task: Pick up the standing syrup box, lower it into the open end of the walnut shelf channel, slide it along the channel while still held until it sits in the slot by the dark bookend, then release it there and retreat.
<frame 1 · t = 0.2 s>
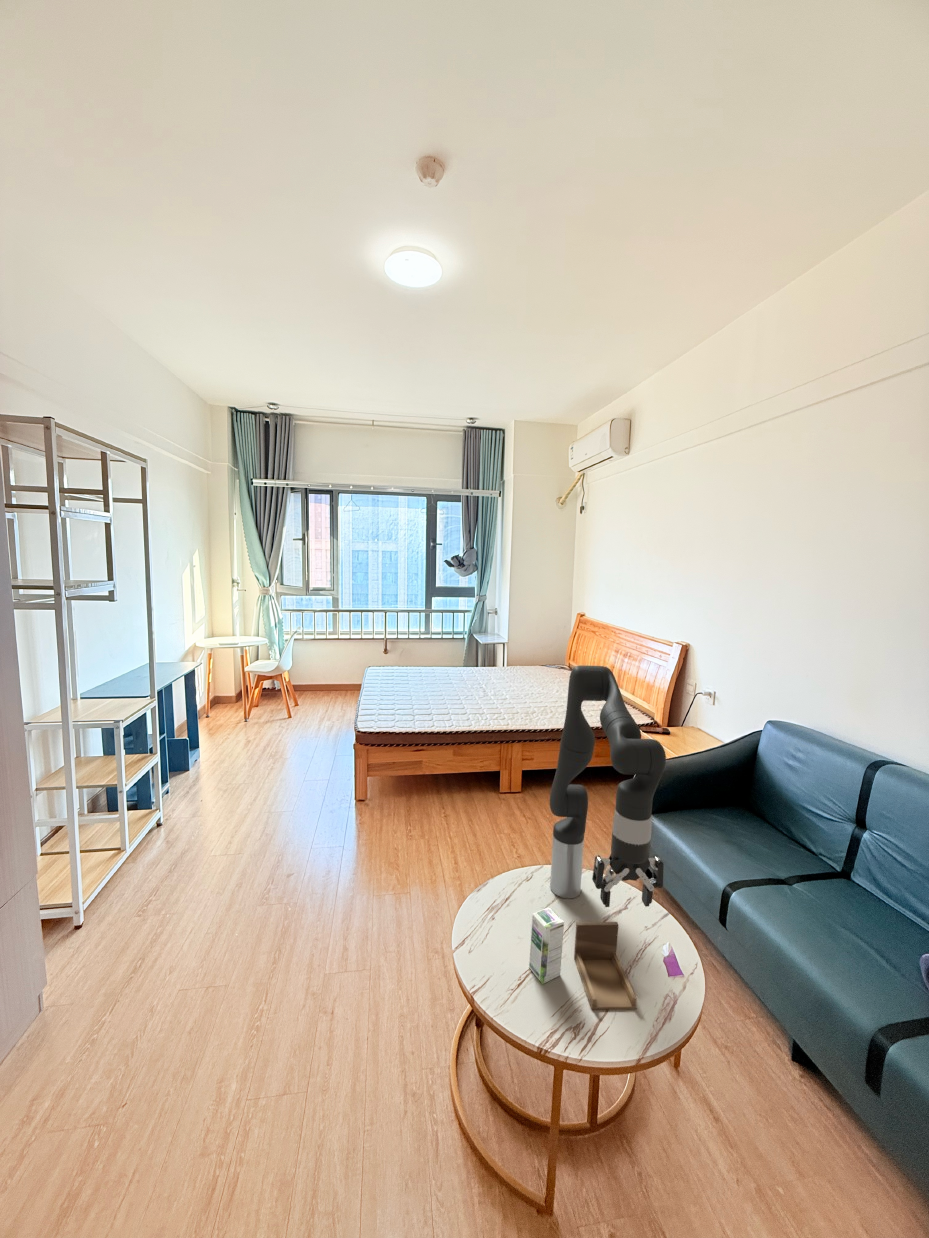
hand: (625, 904, 103), 29 cm above the table, fingers open, 8 cm apart
book rack: (603, 982, 117), on the table
syrup box: (544, 971, 119), on the table
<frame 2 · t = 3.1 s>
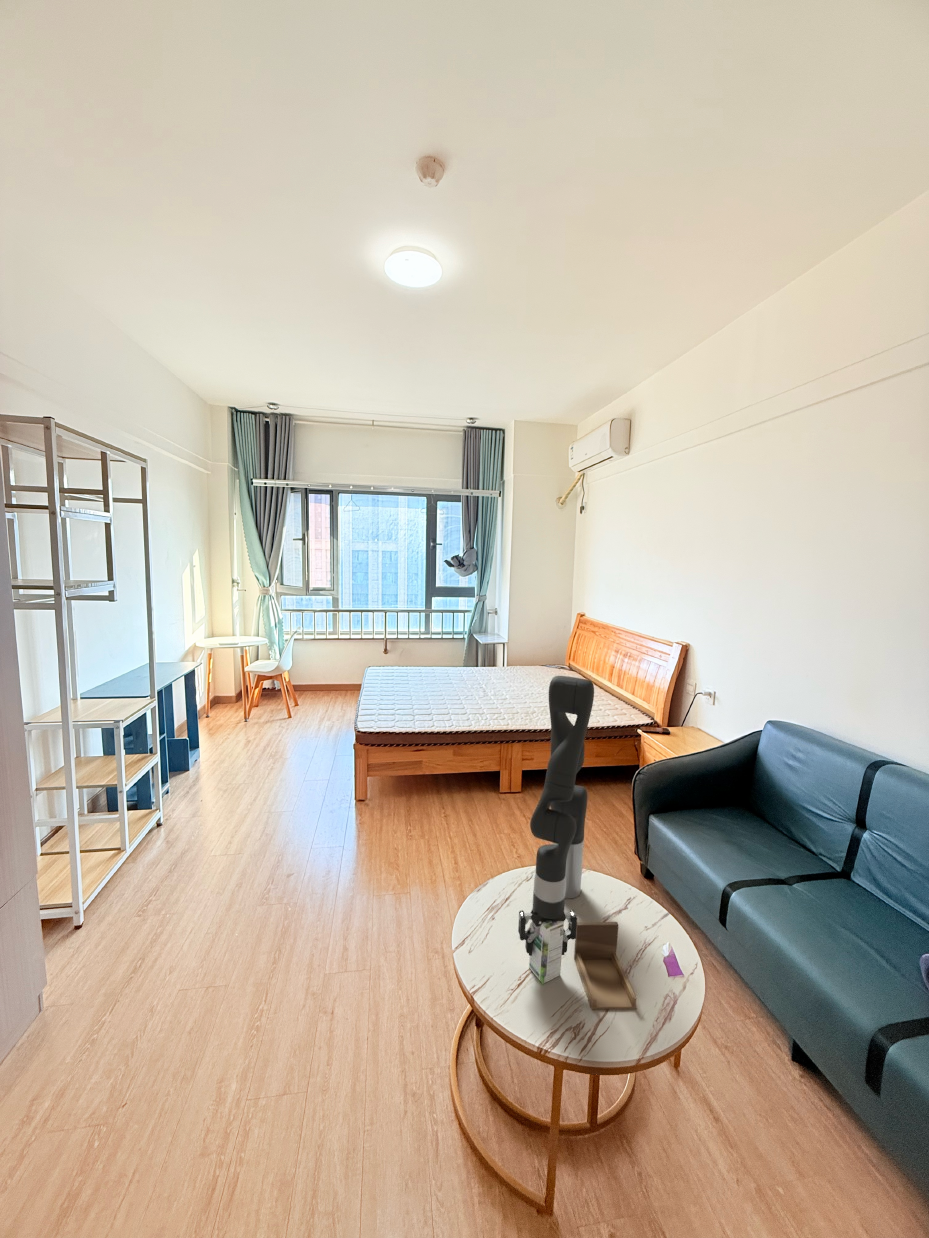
hand: (545, 952, 119), 5 cm above the table, fingers closed on syrup box, 7 cm apart
syrup box: (544, 971, 119), on the table, touching gripper
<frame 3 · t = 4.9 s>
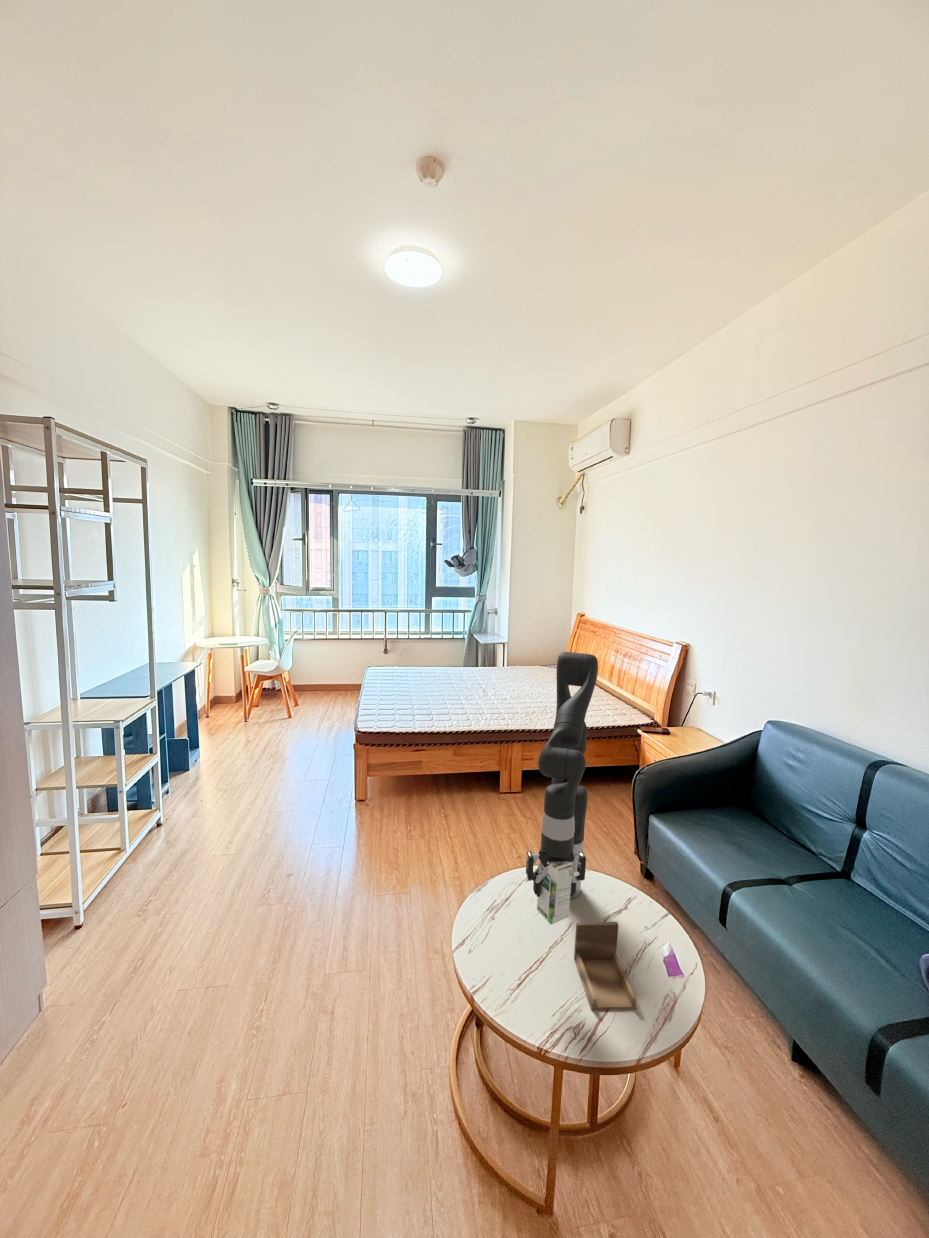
hand: (553, 894, 116), 21 cm above the table, fingers closed on syrup box, 7 cm apart
syrup box: (552, 914, 117), point 15 cm above the table, touching gripper
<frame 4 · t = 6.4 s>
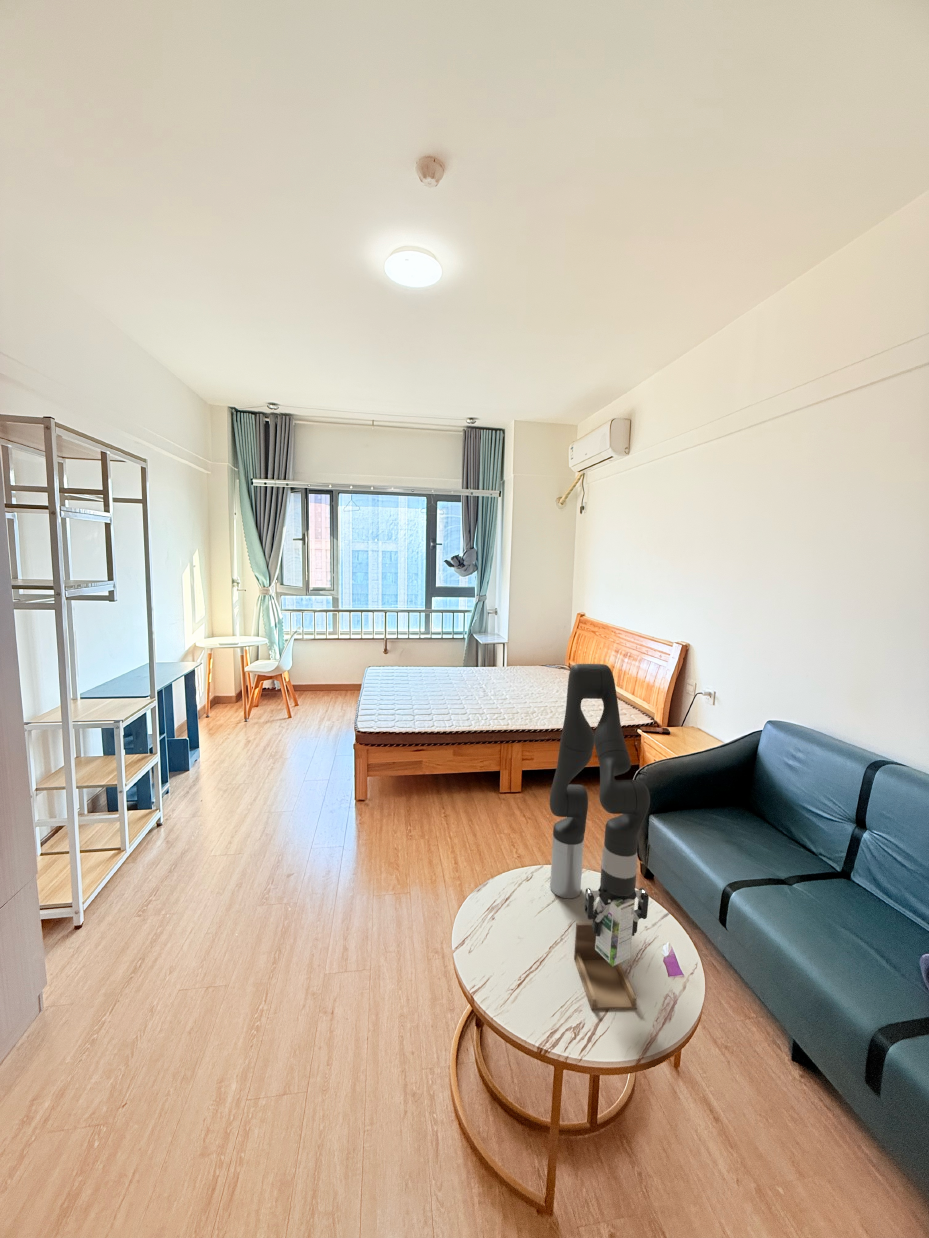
hand: (614, 933, 111), 16 cm above the table, fingers closed on syrup box, 7 cm apart
syrup box: (612, 954, 111), point 11 cm above the table, touching gripper
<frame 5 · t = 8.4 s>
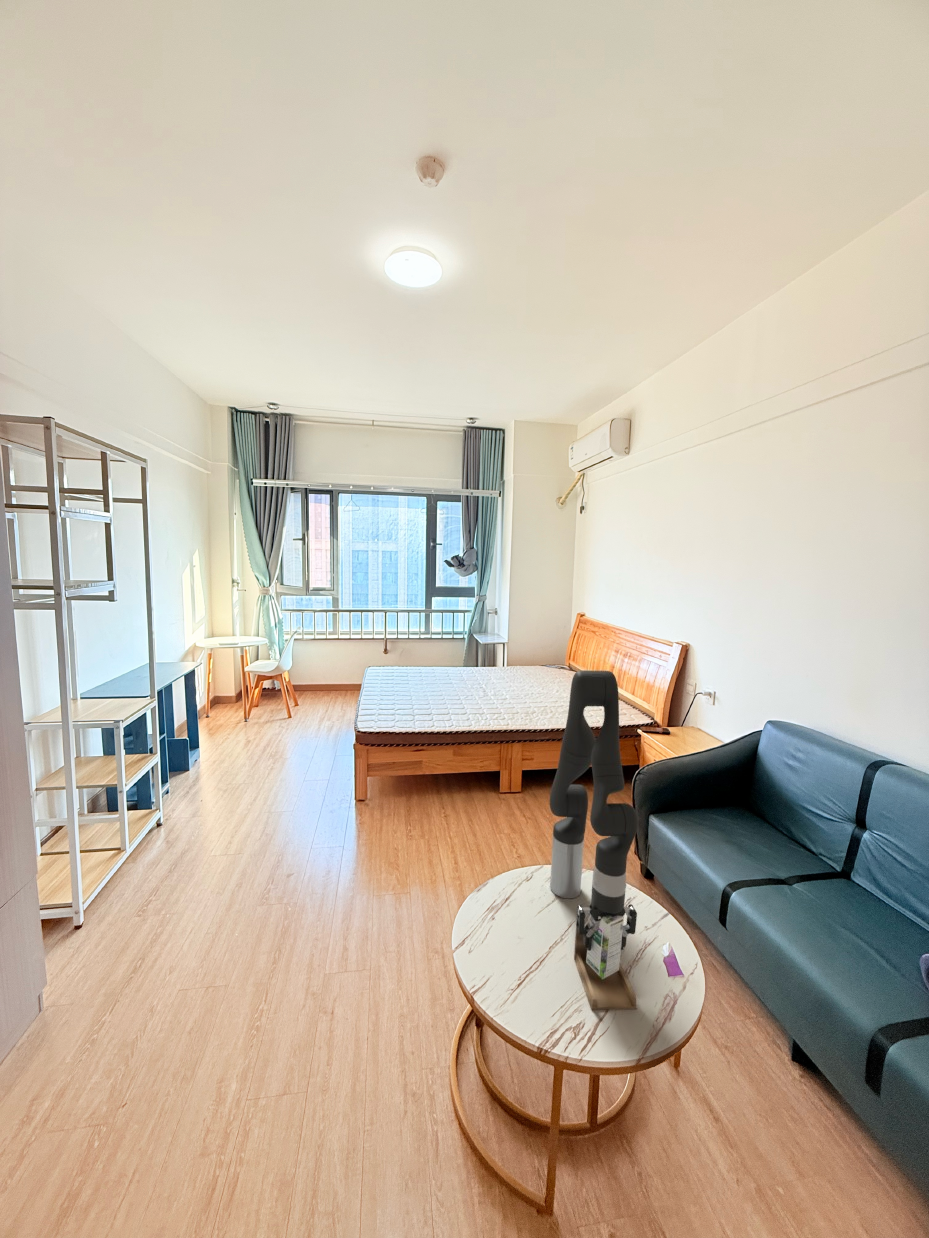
hand: (603, 947, 117), 8 cm above the table, fingers closed on syrup box, 7 cm apart
syrup box: (602, 967, 118), point 3 cm above the table, touching gripper
when the fingers open (7 cm above the table, at t = 10.0 s): syrup box drops 1 cm, resting on book rack.
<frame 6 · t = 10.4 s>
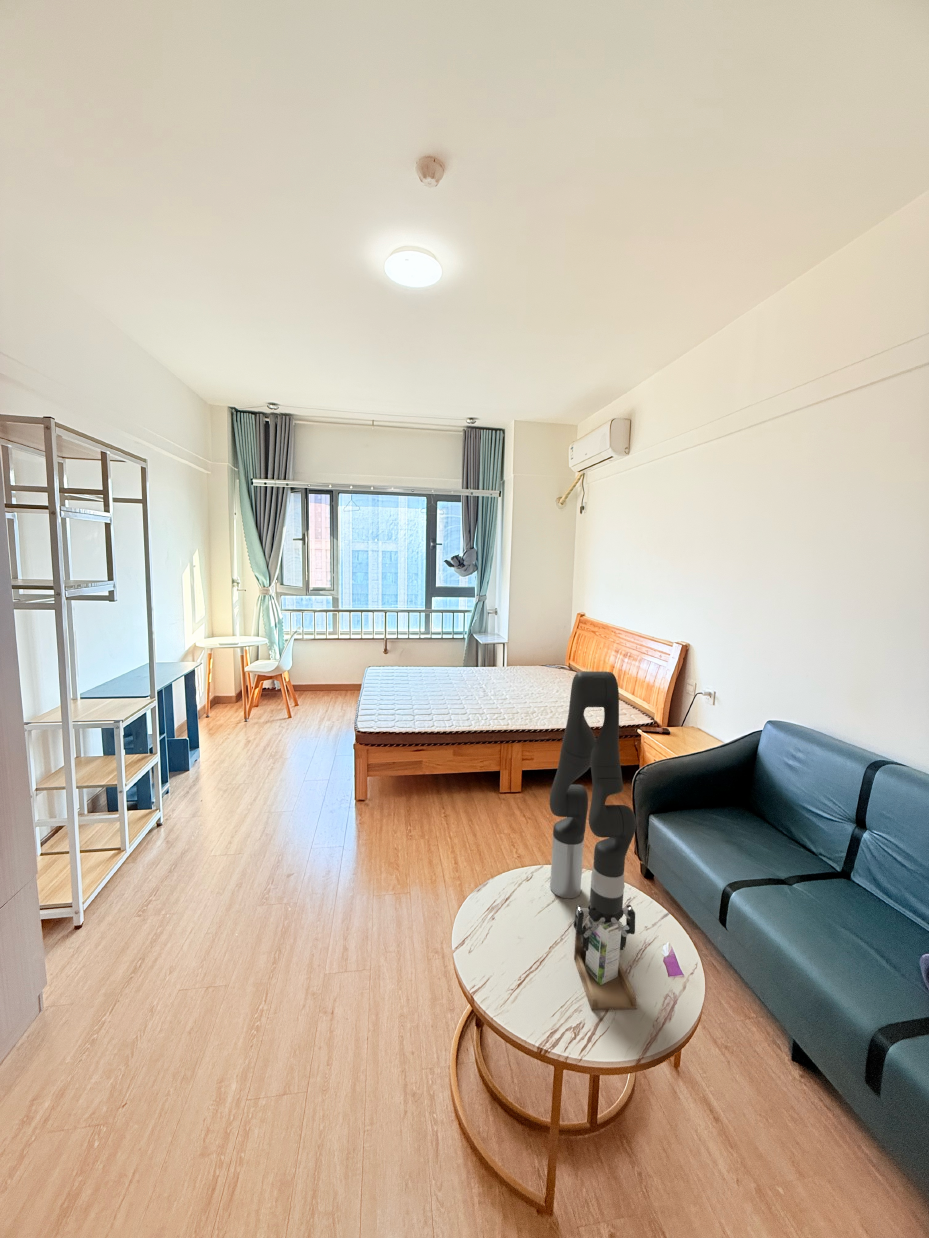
hand: (602, 947, 118), 7 cm above the table, fingers open, 8 cm apart
syrup box: (601, 973, 119), resting on book rack
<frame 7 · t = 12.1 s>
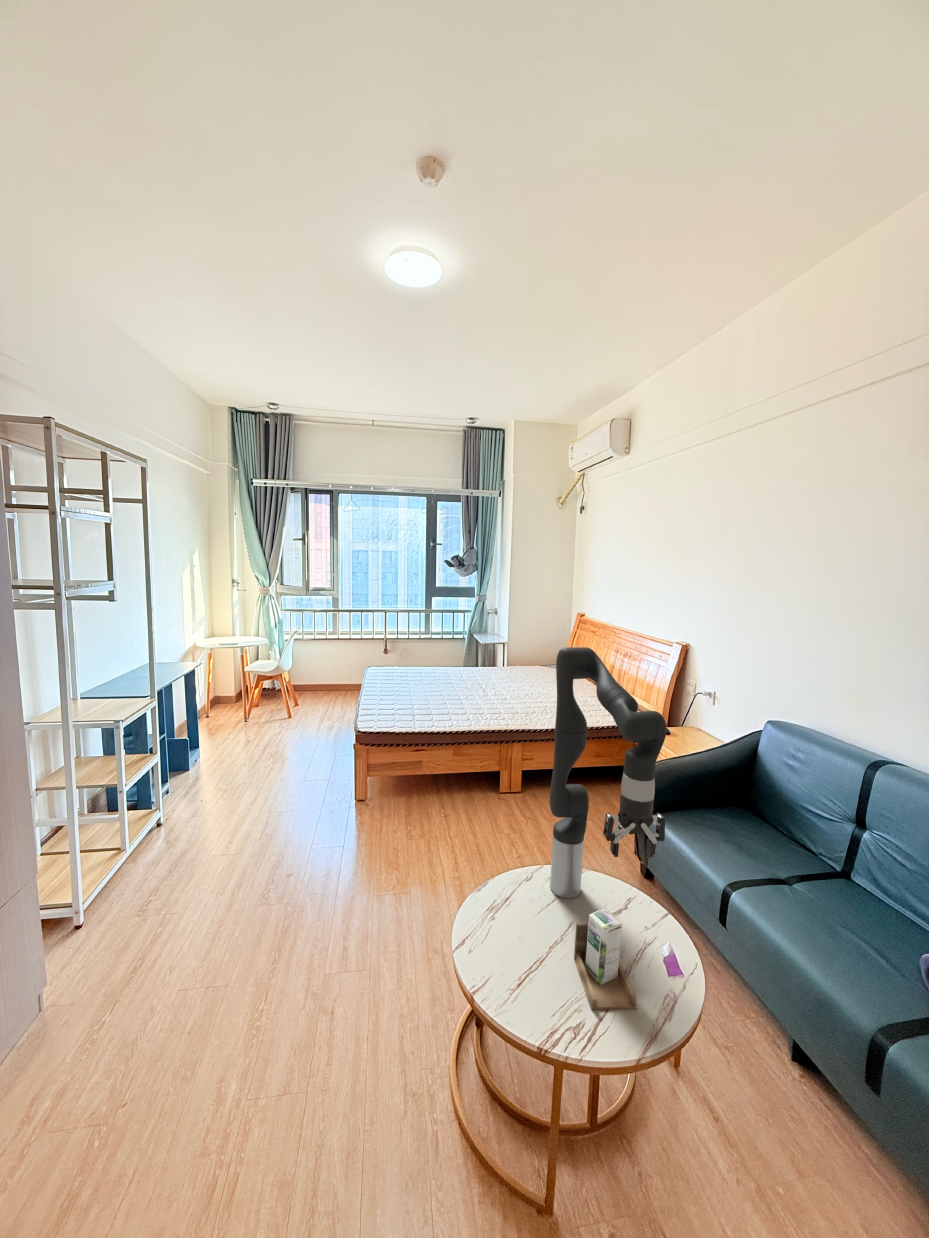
hand: (632, 855, 119), 29 cm above the table, fingers open, 8 cm apart
nothing on the table moved.
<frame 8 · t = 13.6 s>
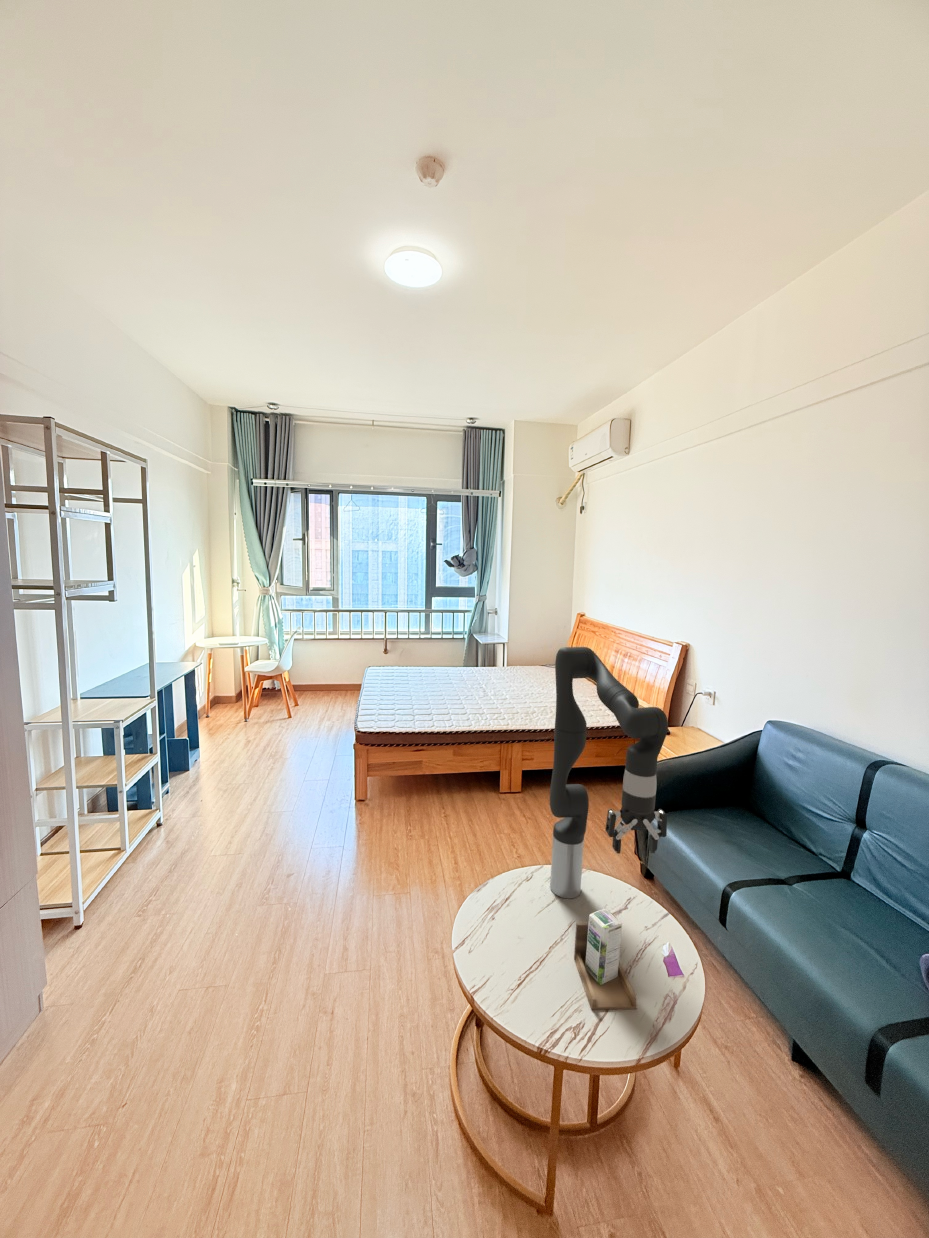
hand: (634, 851, 119), 30 cm above the table, fingers open, 8 cm apart
nothing on the table moved.
at the end: syrup box 0.3 cm from the target spot, resting on book rack; syrup box tilted 0°; the gripper is holding nothing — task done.
